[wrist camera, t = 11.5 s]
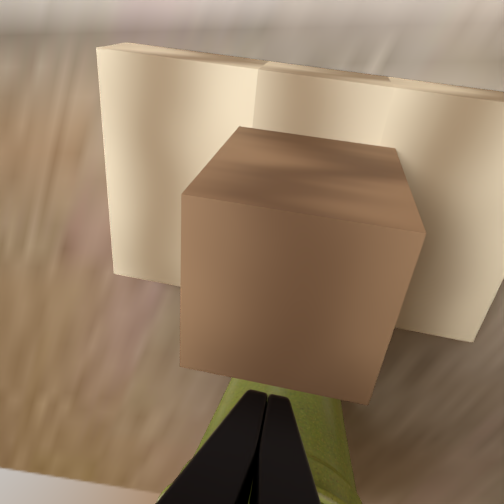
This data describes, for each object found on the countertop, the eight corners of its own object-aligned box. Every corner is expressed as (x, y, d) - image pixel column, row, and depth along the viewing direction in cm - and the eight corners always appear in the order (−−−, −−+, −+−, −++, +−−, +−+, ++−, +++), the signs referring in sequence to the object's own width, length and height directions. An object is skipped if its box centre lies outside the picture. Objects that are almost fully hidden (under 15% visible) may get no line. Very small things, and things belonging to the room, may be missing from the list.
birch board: (549, 98, 15) (583, 112, 13) (459, 307, 20) (472, 342, 18) (126, 42, 17) (96, 47, 15) (136, 247, 22) (113, 273, 20)
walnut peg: (388, 130, 17) (426, 233, 9) (358, 250, 20) (368, 405, 12) (251, 111, 18) (181, 194, 10) (241, 230, 20) (180, 366, 13)
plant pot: (379, 440, 26) (394, 615, 18) (231, 442, 28) (192, 596, 21) (356, 315, 22) (362, 476, 14) (186, 331, 24) (117, 474, 17)
